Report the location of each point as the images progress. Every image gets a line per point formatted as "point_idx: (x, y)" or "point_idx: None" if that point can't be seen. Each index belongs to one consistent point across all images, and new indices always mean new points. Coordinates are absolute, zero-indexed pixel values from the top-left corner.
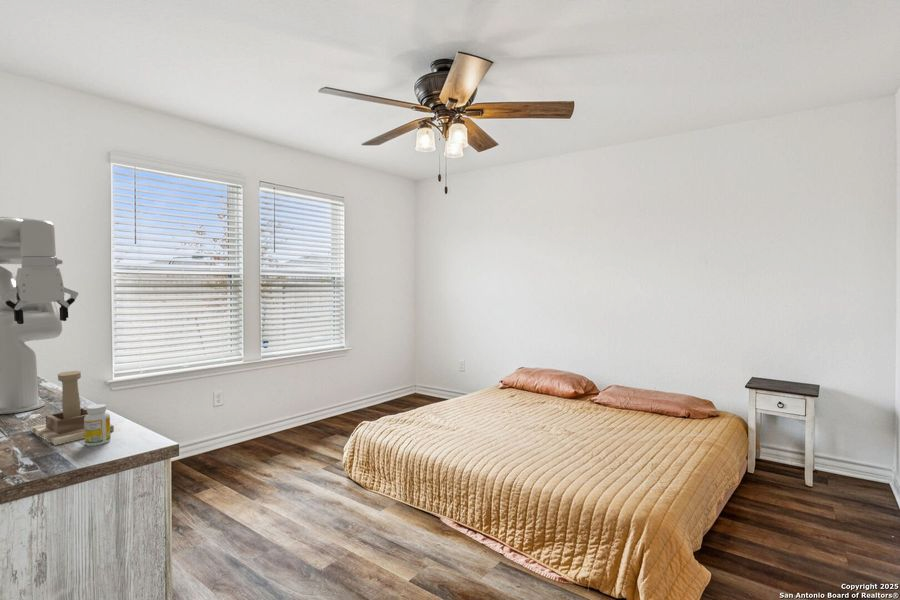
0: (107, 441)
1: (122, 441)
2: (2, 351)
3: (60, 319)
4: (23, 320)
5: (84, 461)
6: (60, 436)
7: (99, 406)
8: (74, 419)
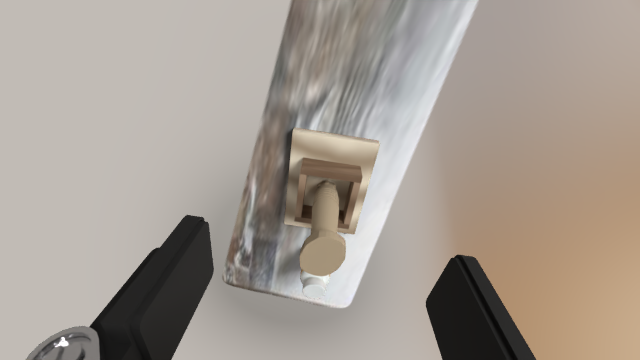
0: None
1: None
2: None
3: (451, 267)
4: (204, 290)
5: (280, 283)
6: (294, 218)
7: (315, 295)
8: None
